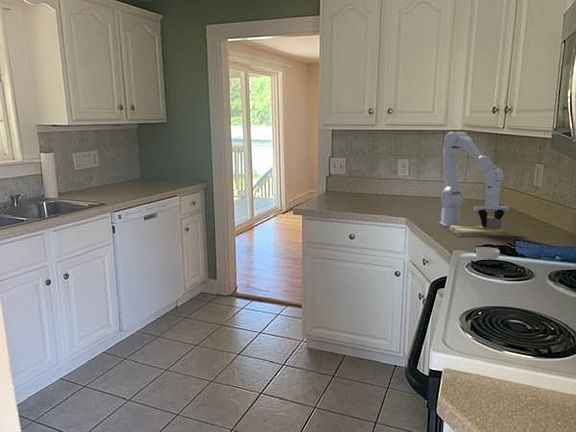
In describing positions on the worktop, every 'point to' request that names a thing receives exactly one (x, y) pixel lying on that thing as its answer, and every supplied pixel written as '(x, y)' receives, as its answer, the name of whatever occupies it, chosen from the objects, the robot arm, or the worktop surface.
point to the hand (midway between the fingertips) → (489, 226)
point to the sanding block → (492, 223)
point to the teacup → (487, 253)
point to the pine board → (475, 231)
